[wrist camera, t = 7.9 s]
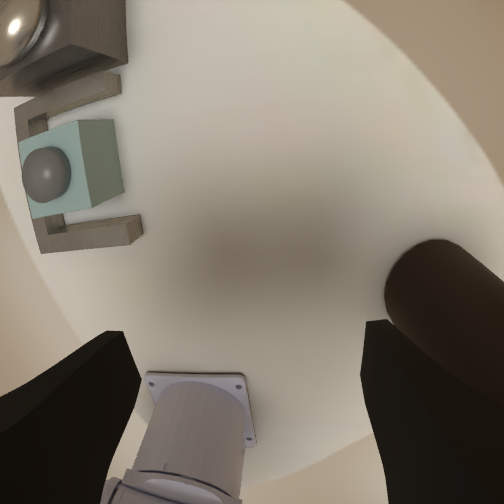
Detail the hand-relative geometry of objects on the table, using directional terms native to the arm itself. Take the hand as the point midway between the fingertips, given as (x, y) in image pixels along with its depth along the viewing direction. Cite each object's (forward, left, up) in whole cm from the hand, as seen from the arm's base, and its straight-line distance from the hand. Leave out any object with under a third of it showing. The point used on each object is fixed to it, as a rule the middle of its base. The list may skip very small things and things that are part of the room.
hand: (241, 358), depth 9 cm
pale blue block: (+6, +10, -11) cm, 16 cm away
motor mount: (+9, +10, -10) cm, 17 cm away
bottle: (-4, -11, -11) cm, 16 cm away
